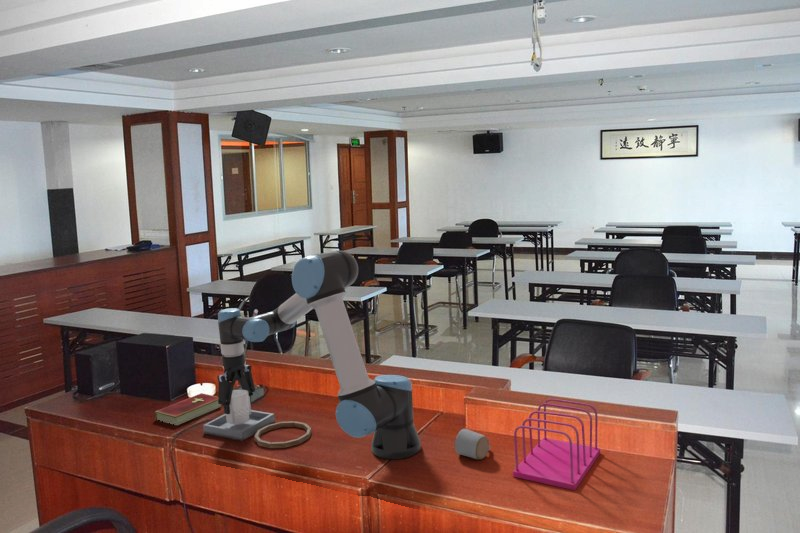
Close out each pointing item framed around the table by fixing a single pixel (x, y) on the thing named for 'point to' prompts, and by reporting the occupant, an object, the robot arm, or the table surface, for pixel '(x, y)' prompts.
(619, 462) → the table surface
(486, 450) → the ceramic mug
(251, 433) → the tray
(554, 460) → the file sorter
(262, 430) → the holder ring
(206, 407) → the hardcover book
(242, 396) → the white cup
